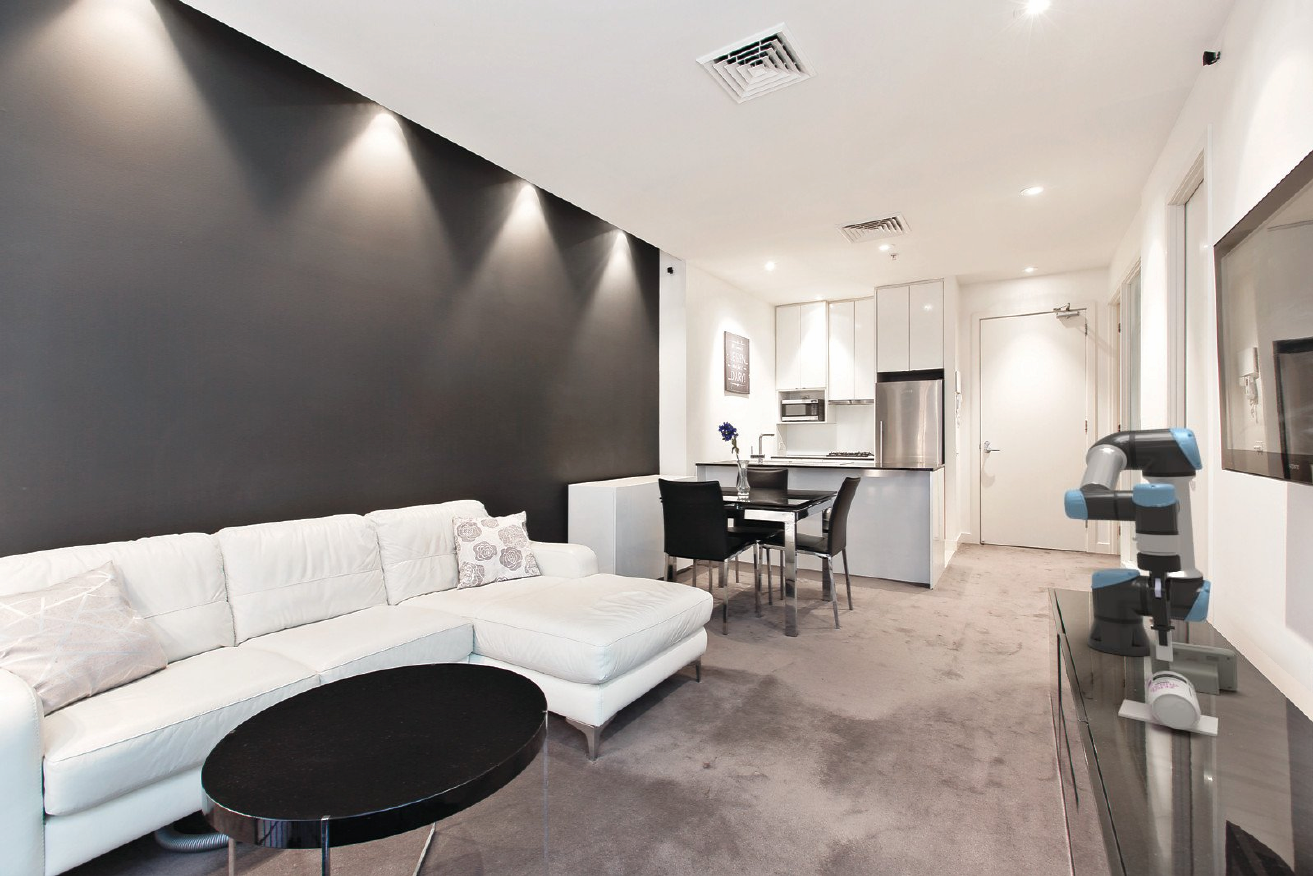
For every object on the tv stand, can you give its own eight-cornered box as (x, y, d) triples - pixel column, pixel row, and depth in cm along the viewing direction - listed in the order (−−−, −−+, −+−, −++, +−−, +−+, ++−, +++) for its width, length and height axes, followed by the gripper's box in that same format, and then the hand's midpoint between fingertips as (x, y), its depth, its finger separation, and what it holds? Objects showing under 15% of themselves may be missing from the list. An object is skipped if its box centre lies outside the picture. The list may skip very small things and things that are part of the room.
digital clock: (1242, 691, 144) (1239, 646, 144) (1235, 701, 138) (1232, 655, 138) (1156, 674, 156) (1153, 633, 157) (1146, 682, 151) (1144, 640, 151)
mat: (1124, 702, 139) (1124, 699, 139) (1218, 721, 128) (1218, 718, 128) (1118, 715, 132) (1118, 713, 132) (1217, 737, 121) (1217, 734, 121)
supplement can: (1177, 715, 134) (1182, 740, 122) (1138, 686, 138) (1139, 708, 126) (1205, 690, 131) (1212, 714, 119) (1164, 662, 135) (1167, 682, 124)
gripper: (1139, 548, 141) (1146, 649, 140) (1133, 554, 131) (1139, 663, 130) (1181, 550, 136) (1189, 655, 134) (1178, 557, 126) (1185, 671, 125)
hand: (1164, 659), depth 132 cm, fingers closed
